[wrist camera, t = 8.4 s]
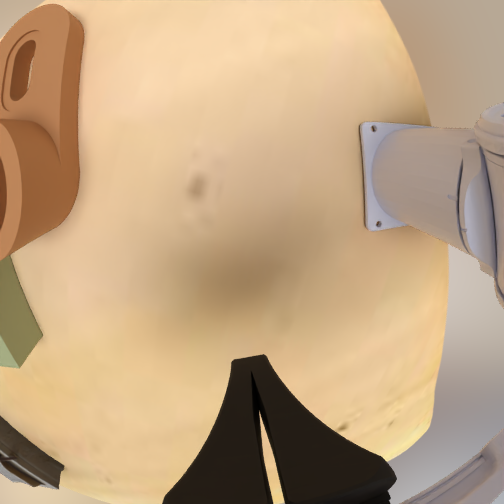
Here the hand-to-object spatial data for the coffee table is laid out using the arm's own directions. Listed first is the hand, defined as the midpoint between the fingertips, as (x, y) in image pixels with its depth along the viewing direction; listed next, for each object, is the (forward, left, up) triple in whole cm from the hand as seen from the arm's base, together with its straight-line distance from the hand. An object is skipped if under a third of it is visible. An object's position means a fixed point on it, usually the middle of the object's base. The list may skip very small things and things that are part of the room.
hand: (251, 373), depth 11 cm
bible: (+52, +27, -10) cm, 59 cm away
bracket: (+13, -15, -10) cm, 22 cm away
